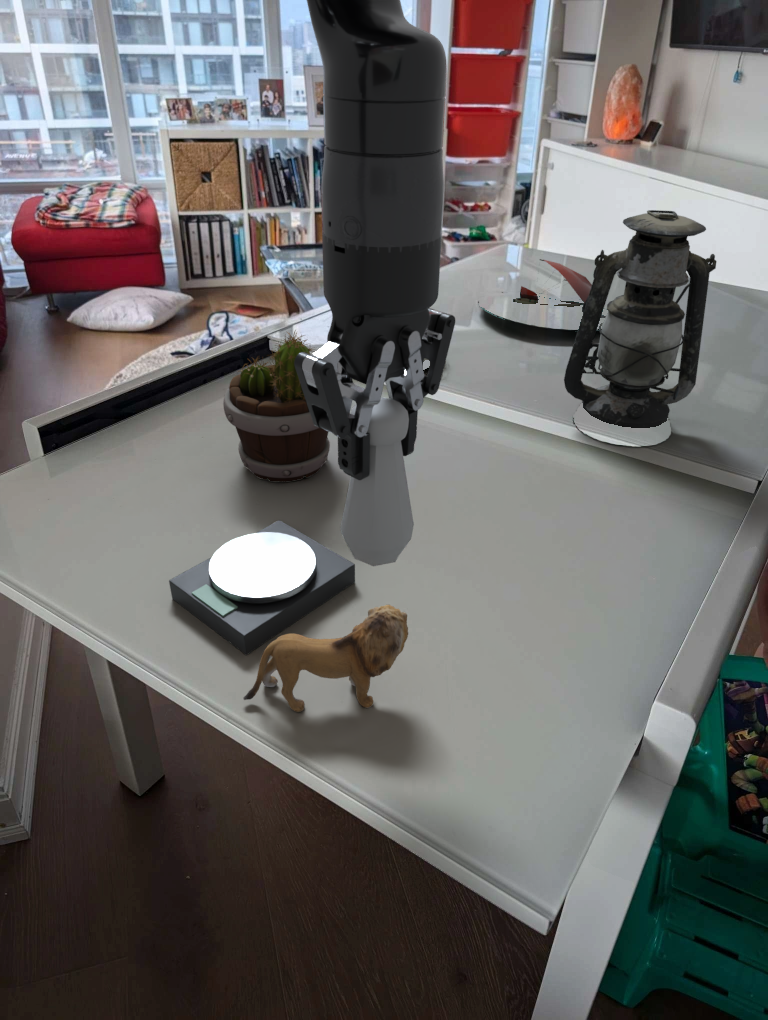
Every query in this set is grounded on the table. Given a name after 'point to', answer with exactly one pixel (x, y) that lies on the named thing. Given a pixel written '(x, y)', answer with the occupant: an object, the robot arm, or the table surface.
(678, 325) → the lantern
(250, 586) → the scale pan
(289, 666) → the lion figurine
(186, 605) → the scale
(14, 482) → the table surface
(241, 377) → the flowerpot
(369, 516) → the salt shaker
